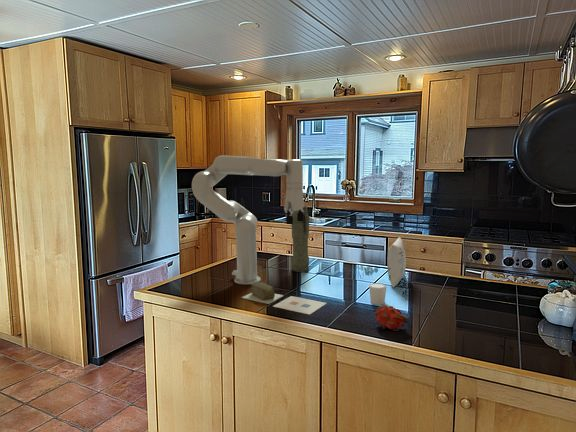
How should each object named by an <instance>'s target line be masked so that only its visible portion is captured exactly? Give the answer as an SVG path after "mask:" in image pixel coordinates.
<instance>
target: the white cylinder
mask: <svg viewBox="0 0 576 432" xmlns="http://www.w3.org/2000/svg"><path fill="white" fill-rule="evenodd" d="M368 288H369V299H370V304H373V305H384V304H385V302H386V293H387V285H386V284H384V283H379V282H378V283H377V282H374V283H370V284H369V286H368ZM383 303H384V304H383Z"/></svg>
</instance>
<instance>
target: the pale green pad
mask: <svg viewBox="0 0 576 432" xmlns="http://www.w3.org/2000/svg"><path fill="white" fill-rule="evenodd" d="M282 297H284V295H283V294H280V293H279V294H278V293H275V296H274V298H272V299H266V300H265V299H261V298H259V297H257V296H255V295H254V294H252V293H251V292H250V293H248V294H246V295H244V296H241V299H244V300H250V301H253V302H257V303H263V304H267V305H270V304H271V303H273V302H275V301H277V300H279V299H281V298H282Z"/></svg>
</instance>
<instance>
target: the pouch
mask: <svg viewBox="0 0 576 432" xmlns="http://www.w3.org/2000/svg"><path fill="white" fill-rule="evenodd" d="M406 253H407V252H406V248H405V244H404V241H403V239H402V237H401V236H399V237H398V238H397V239H396V240H395V241H394V242H393V243H392V245H391V246H389V248H388V251H387V258H386V260H387V263H386V264H387V274H388V278H389V279H388V280H389V282H390V285H391V287H392V288H393V289H394V288H395V287H397V285H398V284H399V282H400V281H401V280H402V278H403V277H404V275H405V273H406V267H407V255H406Z"/></svg>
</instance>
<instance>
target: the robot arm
mask: <svg viewBox="0 0 576 432" xmlns="http://www.w3.org/2000/svg"><path fill="white" fill-rule="evenodd" d="M303 170H304V169H303V161H302V159H279V158H277V159H274V158H273V159H270V158H269V159H268V158H256V157H252V156H244V155H243V156H240V155H223V154H222V155H218V156H216V157H215V158H214V160H213V163H212V164H211V165H210V166H209V167H207V168H206V169H205V170H202V171H199V172H197V173H195V175H194V176H193V178H192V181H191V190H192V193H193V196H194V197H195V199H196V200H197V201H198V202H199V203H200V204H202V205H203V206H204V207H205V208H207V209H208V210H209V211H210V212H212V213H213V214H215V215H216V216H217V218H219V219H220V220H222V221H224V222H225V223H227V222H228V223H230V222H231V223H233V224H234V225H235V227H234V233H235V245H236V247H235V248H236V249H235V250H236V269H233V271H232V272H231V276H235V278H234V279H233V280H234V283H235V284H237V285H251V284H253V283H258V282H261V277H260V276H259V275H258V258H257V257H258V256H257V252H258V251H257V234H256V232H257V228H258V219H257V217H256V216H255V214H253V213H251V212H250V211H249V210H248V209H246V208H245V207H244V206H242V205H241V204H240V203H238V202H237V201H235V200H232V199H230V200H227V199H226V198H225V197H224V196H222V195H221V194H219V193H218V192H217V191H215V190H214V189H213V187H215V185H217V184H218V183H219V182H220V181H221V180H223V179H225V177H226V176H228V175H240V176H262V177H263V176H265V177H266V176H267V177H268V176H269V177H281V176H282V175H283V176H286V191H285V195H284V206H283V210H284V214H285V216H286V217H285V219H286V220H285V221H286V225H291V226H292V224H293V216H292V214H293V211H298V213H297V221H302V222H303V221H304V209H305V204H306V203H305V202H304V201H305V199H304V191H303V188H304V184H303V182H304V176H303V175H304V172H303Z"/></svg>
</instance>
